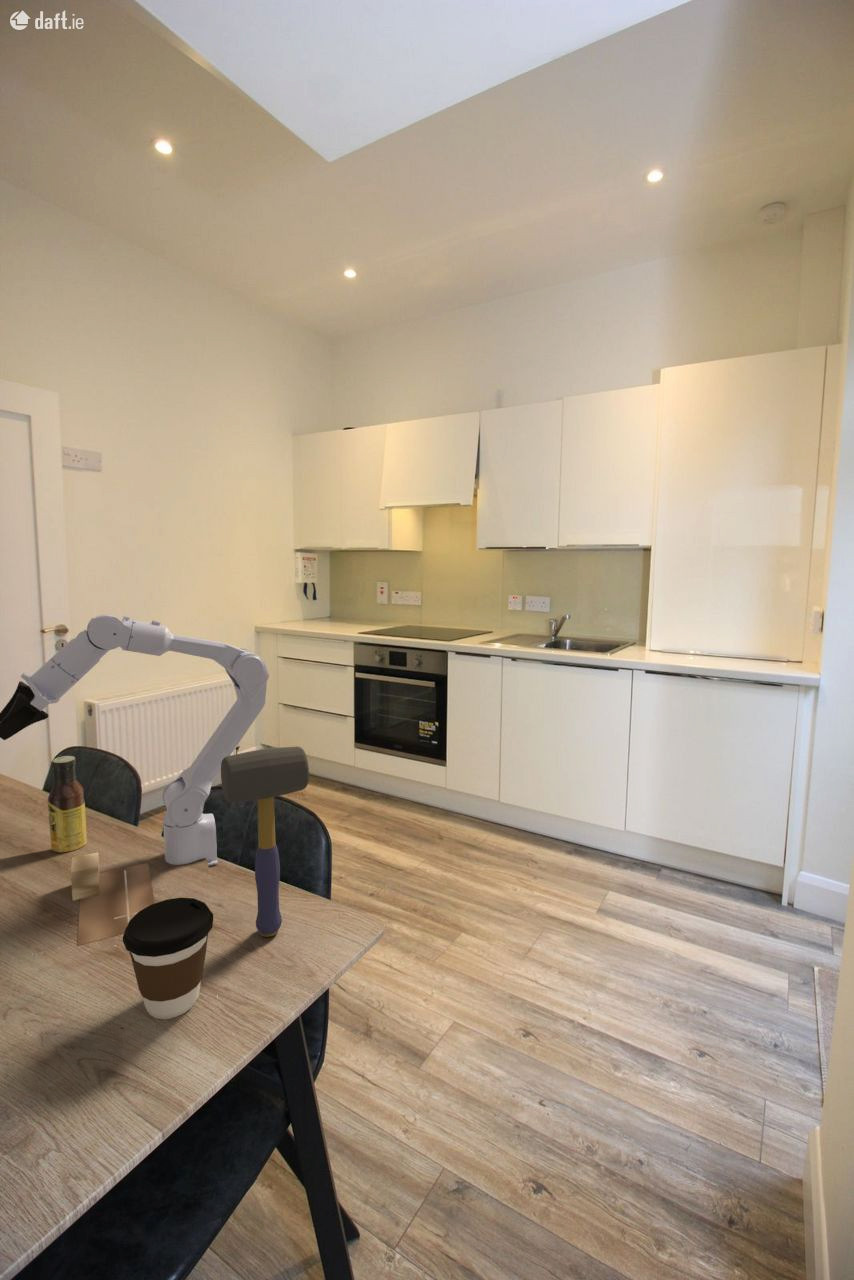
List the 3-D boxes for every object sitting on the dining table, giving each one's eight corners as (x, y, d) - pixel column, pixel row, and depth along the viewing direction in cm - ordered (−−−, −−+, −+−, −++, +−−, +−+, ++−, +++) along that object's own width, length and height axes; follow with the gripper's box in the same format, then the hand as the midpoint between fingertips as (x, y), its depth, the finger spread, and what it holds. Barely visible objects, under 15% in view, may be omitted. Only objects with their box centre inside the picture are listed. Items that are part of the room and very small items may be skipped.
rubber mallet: (233, 958, 87) (226, 763, 83) (224, 930, 93) (217, 749, 90) (314, 933, 93) (311, 751, 89) (300, 909, 99) (297, 738, 95)
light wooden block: (100, 884, 106) (98, 852, 105) (100, 901, 101) (97, 867, 100) (74, 890, 104) (72, 857, 103) (73, 907, 99) (70, 872, 98)
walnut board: (148, 870, 111) (148, 862, 111) (158, 933, 92) (157, 924, 92) (82, 884, 106) (81, 877, 106) (77, 955, 87) (77, 945, 87)
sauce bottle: (54, 848, 120) (47, 755, 117) (89, 843, 122) (83, 751, 120) (49, 863, 114) (42, 765, 111) (86, 857, 116) (79, 760, 114)
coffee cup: (190, 963, 85) (187, 886, 84) (232, 998, 79) (229, 915, 77) (112, 1005, 77) (107, 921, 76) (151, 1049, 70) (146, 957, 69)
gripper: (44, 646, 105) (-19, 703, 101) (45, 662, 93) (-27, 727, 89) (78, 671, 108) (18, 727, 105) (83, 689, 96) (15, 753, 93)
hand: (0, 729), depth 97 cm, fingers open, 7 cm apart
